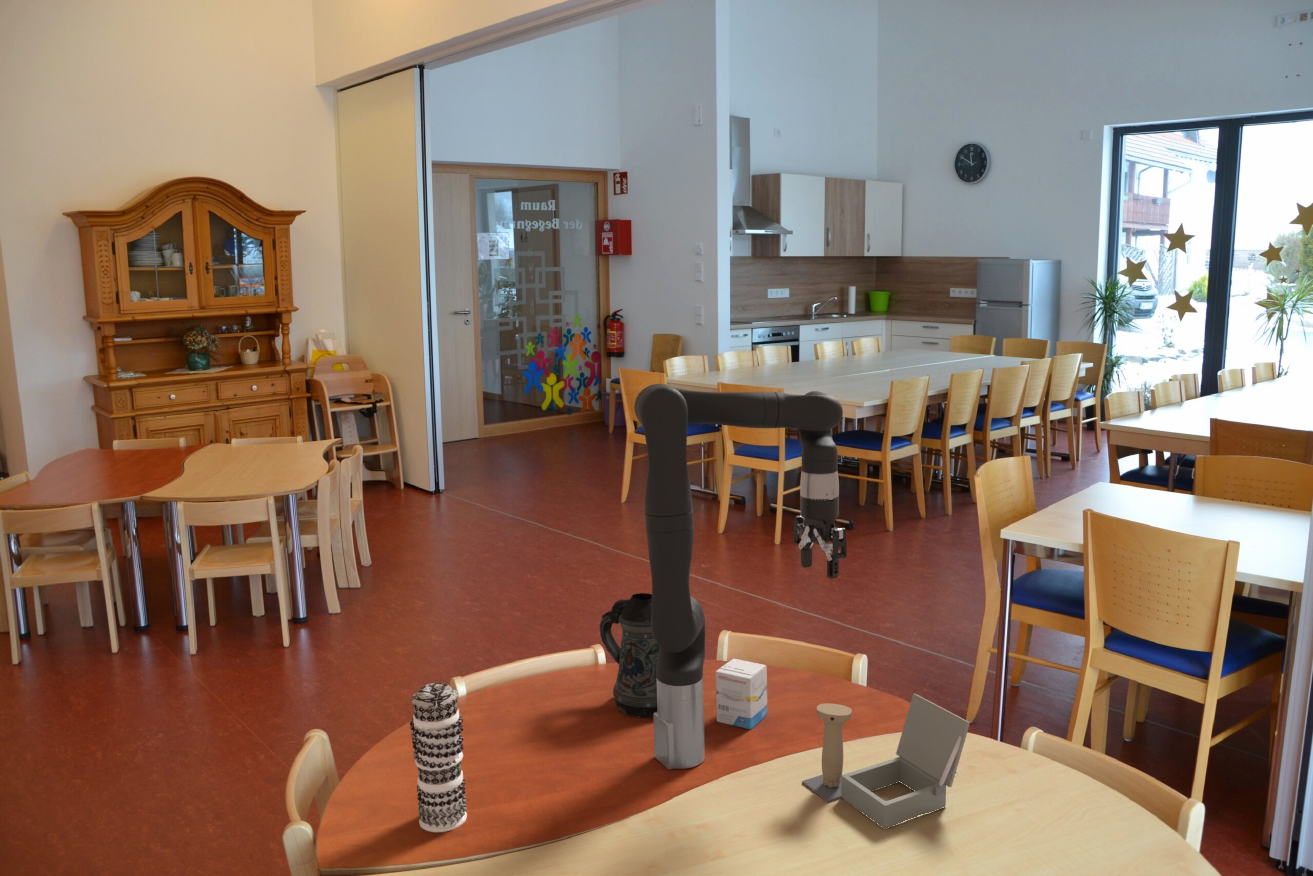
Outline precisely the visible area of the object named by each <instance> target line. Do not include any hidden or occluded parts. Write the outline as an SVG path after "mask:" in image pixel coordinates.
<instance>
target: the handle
mask: <svg viewBox="0 0 1313 876" xmlns="http://www.w3.org/2000/svg"><path fill="white" fill-rule="evenodd" d="M852 710H853V709H852V708H851V707H849V706H847V705H843V704H837V703H826V702H825V703H819V704H818V705H817V706H816V716H817V717H818V718H819V719H821V720H823V721H824V727H823V728H824V730H823V741H822V750H821V773H822V775H823V776H824V778H823V784H824V785H826V786H828V787H829V788H833V787H839V785H840V782H841V775H843V768H844V732H843V731H844V730H843V729H844V727H843V726H844V723H846V722H848V721H850V720H851V719H852V717H853V716H852V715H853V711H852Z"/></svg>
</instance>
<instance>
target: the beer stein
mask: <svg viewBox="0 0 1313 876" xmlns="http://www.w3.org/2000/svg"><path fill="white" fill-rule="evenodd" d="M651 611H652V593H645V592H643V593H642V592H641V593H640V592H639V593H634V594H632V595H631V596H630V598H629V599H619V600H617V601H616V602H614V604H613V605H612V607H611V609H610V610H608V611H606V612H604V613H603V614H602V616H601V620H600V621H599V622H600V623H599V635H600V639H601V642H602V643H603V645H604V648H605V650H606V651H607V653H608V654H609V656H610V657H612V659H613V660H614V661H615V662H616V663H617V665H618V671H617V675H616V676H617V677H616V681H615V682H614V685H613V689H612V690H613V691H612V695H613V698H614V702H615V707H616V708H617V709H618V711H620V713H623V714H625V715H628V716H630V717H636V718H643V719H645V718H646V719H649V718H651V719H652V718H653V719H654V713H655V712H657V677H656V665H657V660H658V656H659V650H660V645H659V644H658V643H657V642H656V640H655V638H654V636H653V634H652V630H651ZM613 624H616V625H620V627H621V629H622V632H621V642H620V643H621V644H620V646H619V644H618V643H617V641H616V639H615V637H614V635H613V632H612V626H613Z"/></svg>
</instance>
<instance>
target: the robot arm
mask: <svg viewBox="0 0 1313 876" xmlns="http://www.w3.org/2000/svg"><path fill="white" fill-rule="evenodd" d="M633 408H634V409H633V410H634V414H635V416H636V418H637V420H638V422H639V423H640V425H642V429H643V431H644V432H643V433H644V438H645V445H646V452H647V459H648V460H647V464H648V466H647V467H648V469H647V476H646V481H645V482H646V485H645V490H644V491H645V493H644V517H645V530H646V538H647V548H648V549H647V551H648V559H649V569H650V574H651V575H650V576H651V594H652V611H651V630H652V634H653V636H654V638H655V640H656V642H657V643H658V644H659V645H660V650H659V656H658V660H657V665H656V677H657V712H655V713H654V718H653V740H654V741H653V742H654V744H653V745H654V746H653V747H654V758H655V759H656V760H658V761H659V762H660V763H661V764H662V765H663V766H664V767H665V768H666V769H668V770H672V769H689V768H690V769H691V768H695V767H697V766H699V765H700V764H702V763H703V762H704V761H705V750H706V749H705V748H706V747H705V711H704V709H705V708H704V707H705V706H704V704H705V703H704V663H705V657H706V656H705V655H706V619H705V612H704V609H703V607H702V605H701V604H700V602H699V601H698V600H697V599H696V598H695V597H693V596H692V595H691V589H690V574H691V572H690V571H691V566H692V565H691V564H692V560H693V553H694V552H693V551H694V550H693V549H694V542H695V521H694V520H695V518H694V505H693V496H692V489H691V480H690V473H689V467H688V457H687V455H688V454H687V449H688V447H687V446H688V445H687V443H688V440H687V439H688V425H692V424H693V425H694V424H695V425H697V424H700V425H702V424H706V425H707V424H708V425H719V426H729V427H736V428H737V427H738V428H748V429H782V428H783V429H785V428H786V429H794V430H798V433H799V434H798V435H799V439H800V440H799V441H800V445H801V474H800V482H799V484H800V485H799V486H800V487H799V488H800V490H799V493H800V496H799V497H800V501H799V504H800V511H799V512H800V513H799V515H795V516H794V517H793V519H794V521H793V544H794V545H798V548H799V549H800V564H801V567H802V568H804V569H807V568H811V567H812V565H813V549H812V547H813V545H814V544H815V543H816V544H817V545H818V546H819V547H820V549H821V551H823V552H824V553H825V556H826V557H827V559H826V577H827V578H828V579H829V580H832V579H836V578H838V577H839V574H840V572H839V571H840V569H839V568H840V567H839V566H840V560H841V559H847V557H848V550H847V549H848V548H847V529H846V528H845V527H841V528H839V527H836V524H835V520H836V519H837V518H838V517H839V515H840V508H839V507H840V496H839V495H840V482H839V481H840V480H839V473H838V472H839V471H838V468H839V467H838V464H839V463H838V459H839V458H838V454H839V453H838V446H837V444H836V443H835V442H834V440H833V439H834V438H833V433H832V429H834V428H835V427H837V426H838V425H839V424H840V422H841V421H842V418H843V415H844V411H843V406H842V404H841V402H840V401H839V400H838V399H837V398H836V397H835V396H833V395H830V394H827V393H825V392H822V391H818V390H813V391H812V390H811V391H809V392H806V393H805V394H789V393H785V392H779V391H778V392H777V391H725V392H724V391H721V392H720V391H719V392H718V391H717V392H715V391H701V390H698V391H697V390H691V389H684V388H679V387H674V386H671V385H667V384H663V383H654V384H650V385H648V386H646V387H644V388H643V389H642V390H641V391H640V392H639V393H638V394H637V396H636V398H635V400H634V407H633ZM800 534H801V537H800ZM839 548H840V550H839Z"/></svg>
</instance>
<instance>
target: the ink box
mask: <svg viewBox="0 0 1313 876" xmlns="http://www.w3.org/2000/svg"><path fill="white" fill-rule="evenodd" d="M767 669H768V668H767V665H766V664H762V663H757V662H753V661H748V660H744V659H743V660H742V659H738V658H732V659H731V660H729V661H728V662H727V663H725V664H724V665H722V666H721V667H720V668H718V669H717V670H716V671H715V695H716V696H715V698H716V699H715V703H716V722H718V723H721V724H726V725H730V726H734V727H738V728H739V727H740V728H743V729H747V730H752V729H753V728H755V726H756V725H758V724H759V723H760V722H761V721H762V720H763V719H764V718H766V717H767V716H768V680H767V679H768V678H767V673H768V672H767Z"/></svg>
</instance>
